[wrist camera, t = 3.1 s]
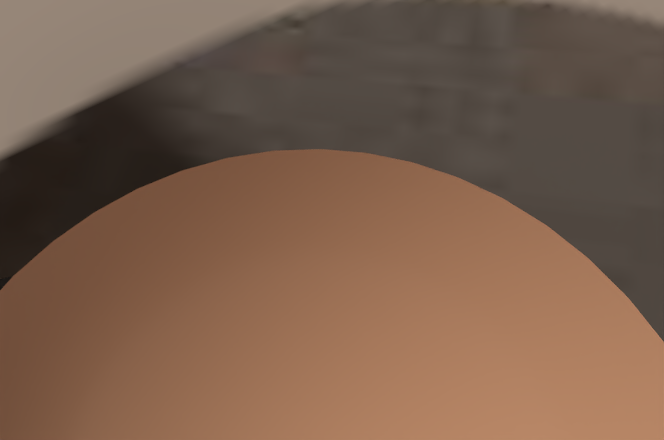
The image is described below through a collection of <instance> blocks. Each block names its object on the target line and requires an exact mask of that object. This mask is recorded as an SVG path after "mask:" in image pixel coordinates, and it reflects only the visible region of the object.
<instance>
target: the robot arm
mask: <svg viewBox="0 0 664 440" xmlns="http://www.w3.org/2000/svg"><path fill="white" fill-rule="evenodd" d="M12 277H13V276H12ZM12 277H8V278H4V279H0V290H1V289H2V288H3V287H4V286H5V285H6V284H7V282H8V281H9V280H10V279H11V278H12Z"/></svg>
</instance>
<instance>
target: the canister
mask: <svg viewBox="0 0 664 440" xmlns="http://www.w3.org/2000/svg"><path fill="white" fill-rule="evenodd" d="M0 440H664V342H663V341H662V339H661V338H660V337H659V336H658V334H657V333H656V332H655V331H654V329H653V328H652V327H651V326H650V324H649V323H648V322H647V321H646V319H645V318H644V317H643V316H642V314H641V313H640V312H639V311H638V310H637V308H636V307H635V306H634V305H633V303H632V302H631V301H630V300H629V298H628V297H627V296H626V295H625V294H624V293H623V292H622V291H621V290H620V289H619V288H618V287H617V286H616V285H615V284H614V283H613V282H612V281H611V280H610V279H609V278H608V277H607V276H606V275H605V274H604V273H603V272H602V271H601V270H600V269H599V268H598V267H596V266H595V265H594V264H593V263H592V262H591V261H590V260H589V259H588V258H587V257H586V256H585V255H583V254H582V253H581V252H580V251H578V250H577V249H576V248H574V247H573V246H572V245H571V244H569V243H568V242H567V241H566V240H564V239H563V238H562V237H561V236H559V235H558V234H557V233H555V232H554V231H553V230H552V229H550V228H549V227H548V226H547V225H545V224H543V223H542V222H540V221H539V220H537V219H535V218H534V217H532V216H530V215H529V214H527V213H526V212H524V211H522V210H521V209H519V208H517V207H516V206H514V205H513V204H511V203H509V202H508V201H506V200H505V199H503V198H501V197H499V196H497V195H494V194H492V193H490V192H488V191H486V190H484V189H482V188H479V187H477V186H475V185H473V184H471V183H469V182H467V181H464V180H462V179H460V178H458V177H455V176H452V175H449V174H446V173H443V172H440V171H437V170H434V169H431V168H428V167H425V166H422V165H419V164H416V163H413V162H408V161H403V160H398V159H393V158H388V157H383V156H379V155H374V154H369V153H361V152H349V151H336V150H324V149H309V150H282V151H269V152H262V153H256V154H250V155H243V156H237V157H230V158H225V159H222V160H218V161H215V162H211V163H207V164H204V165H200V166H197V167H193V168H189V169H186V170H182V171H180V172H177V173H175V174H172V175H170V176H167V177H165V178H163V179H160V180H158V181H155V182H153V183H150V184H148V185H145V186H143V187H140V188H138V189H136V190H134V191H132V192H131V193H129V194H127V195H125V196H123V197H121V198H120V199H118V200H116V201H114V202H112V203H110V204H109V205H107V206H105V207H103V208H101V209H99V210H98V211H96V212H94V213H93V214H91V215H90V216H88V217H87V218H86V219H84V220H83V221H81V222H80V223H78V224H77V225H76V226H74V227H73V228H71V229H70V230H68V231H67V232H66V233H64V234H63V235H61V236H60V237H58V238H57V239H56V240H54V241H53V242H52V243H50V244H49V245H48V246H47V247H46V248H45V249H44V250H42V251H41V252H40V253H39V254H38V255H37V256H36V257H35V258H33V259H32V260H31V261H30V262H29V263H28V264H27V265H25V266H24V267H23V268H22V269H21V270H20V271H19V272H17V273H16V274H15V275H14V276H13V277H12V278H11V279H10V280H9V281H8V282H7V284H6V285H5V286H4V287H3V288H2V289H1V290H0Z"/></svg>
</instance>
